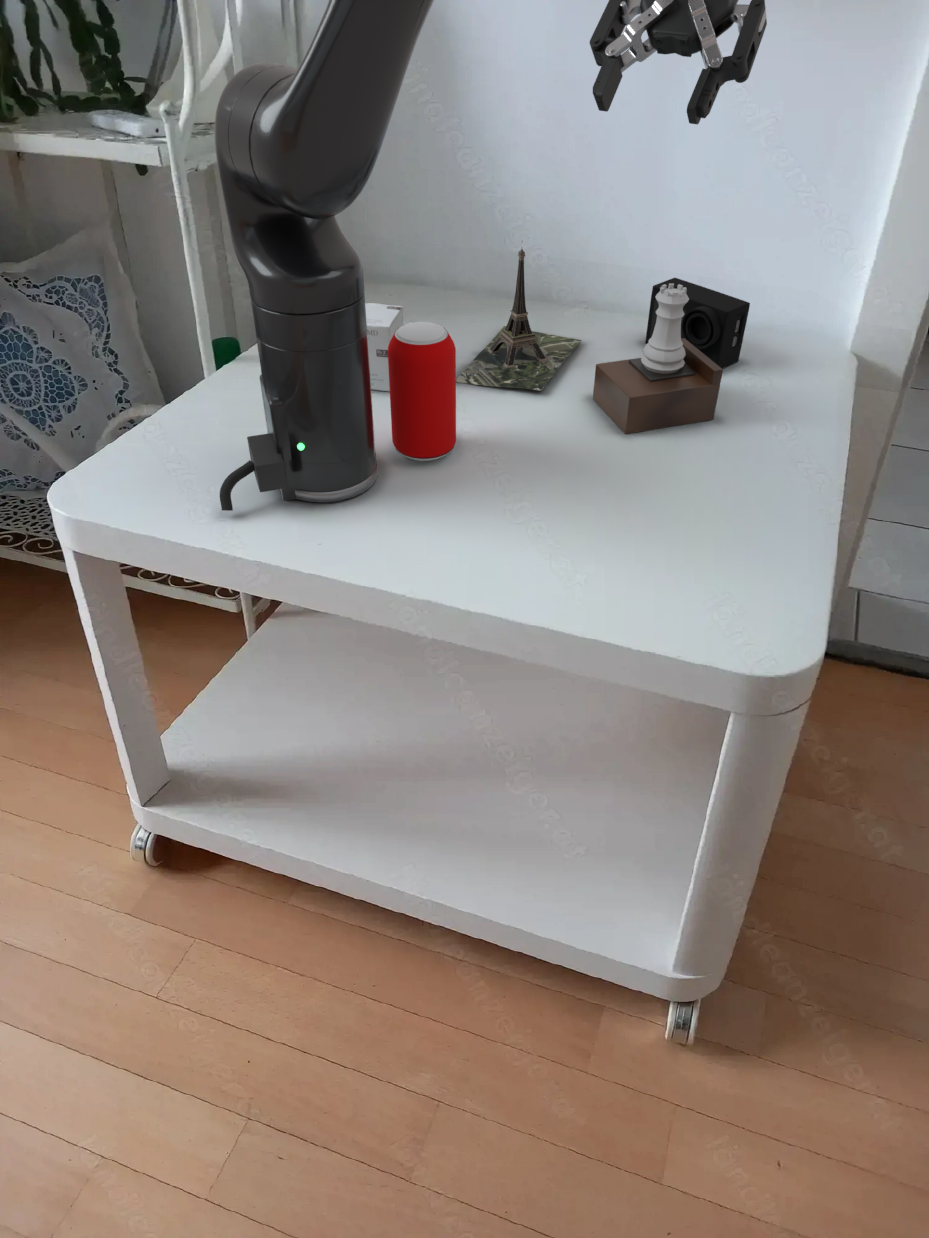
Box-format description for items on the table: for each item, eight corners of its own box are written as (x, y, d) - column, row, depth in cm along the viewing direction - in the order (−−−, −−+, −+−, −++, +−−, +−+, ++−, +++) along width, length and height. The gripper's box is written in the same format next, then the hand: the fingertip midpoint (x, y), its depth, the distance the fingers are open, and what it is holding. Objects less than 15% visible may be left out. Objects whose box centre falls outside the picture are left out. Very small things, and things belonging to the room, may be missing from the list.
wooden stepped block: (625, 434, 94) (631, 383, 90) (592, 399, 100) (597, 350, 96) (713, 419, 96) (723, 369, 93) (676, 386, 102) (684, 337, 98)
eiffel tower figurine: (542, 397, 100) (550, 271, 91) (454, 381, 103) (454, 258, 94) (581, 343, 111) (592, 226, 102) (501, 330, 113) (504, 215, 105)
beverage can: (413, 473, 88) (409, 351, 80) (381, 445, 92) (374, 327, 84) (468, 455, 90) (469, 335, 83) (434, 429, 94) (431, 312, 87)
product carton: (338, 388, 101) (332, 321, 97) (353, 364, 106) (348, 300, 101) (393, 392, 101) (390, 326, 96) (406, 368, 105) (403, 304, 100)
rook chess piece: (683, 377, 94) (696, 298, 89) (639, 372, 95) (649, 294, 90) (684, 358, 98) (697, 281, 92) (641, 354, 98) (651, 278, 93)
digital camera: (636, 346, 110) (644, 287, 105) (666, 334, 113) (674, 275, 108) (709, 376, 104) (720, 314, 99) (738, 362, 107) (750, 301, 102)
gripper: (631, -100, 81) (560, 72, 80) (795, -94, 75) (719, 91, 75) (648, -30, 88) (582, 129, 87) (799, -20, 82) (729, 150, 82)
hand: (645, 111), depth 81 cm, fingers open, 8 cm apart
